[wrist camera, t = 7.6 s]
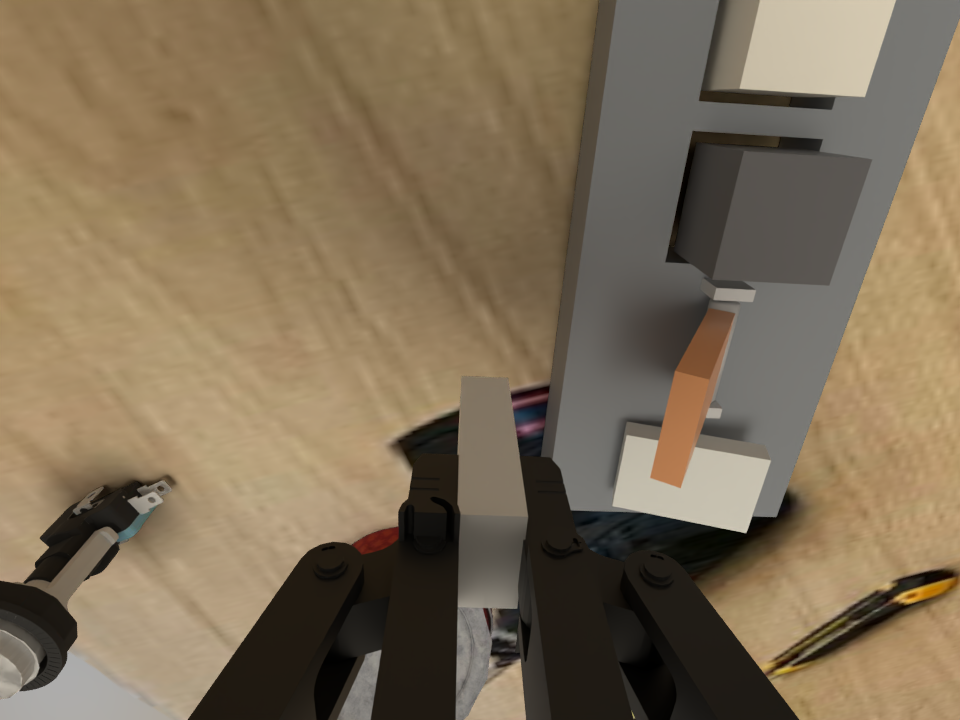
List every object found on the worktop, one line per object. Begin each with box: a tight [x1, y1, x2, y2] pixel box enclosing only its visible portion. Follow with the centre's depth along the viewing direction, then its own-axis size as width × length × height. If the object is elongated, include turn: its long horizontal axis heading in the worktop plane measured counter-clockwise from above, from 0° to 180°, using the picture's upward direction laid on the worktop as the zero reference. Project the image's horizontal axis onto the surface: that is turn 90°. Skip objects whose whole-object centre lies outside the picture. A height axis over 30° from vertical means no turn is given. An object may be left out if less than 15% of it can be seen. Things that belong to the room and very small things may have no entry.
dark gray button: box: [674, 142, 872, 286], centre depth 20 cm, size 4×4×4 cm
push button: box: [0, 480, 172, 700], centre depth 27 cm, size 7×5×10 cm
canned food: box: [337, 527, 493, 720], centre depth 32 cm, size 11×10×10 cm
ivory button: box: [701, 0, 896, 97], centre depth 19 cm, size 4×4×4 cm
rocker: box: [612, 422, 771, 533], centre depth 25 cm, size 4×6×1 cm, turn 87°
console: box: [541, 0, 960, 517], centre depth 23 cm, size 26×12×4 cm, turn 177°
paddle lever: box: [650, 298, 741, 488], centre depth 21 cm, size 4×1×8 cm, turn 177°
